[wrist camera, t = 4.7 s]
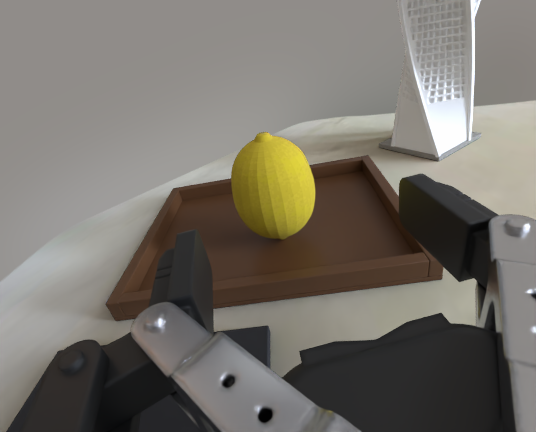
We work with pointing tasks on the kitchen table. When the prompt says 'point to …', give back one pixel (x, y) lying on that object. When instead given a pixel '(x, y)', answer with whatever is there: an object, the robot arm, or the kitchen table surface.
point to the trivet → (166, 410)
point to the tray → (286, 243)
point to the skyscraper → (435, 78)
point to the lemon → (273, 187)
